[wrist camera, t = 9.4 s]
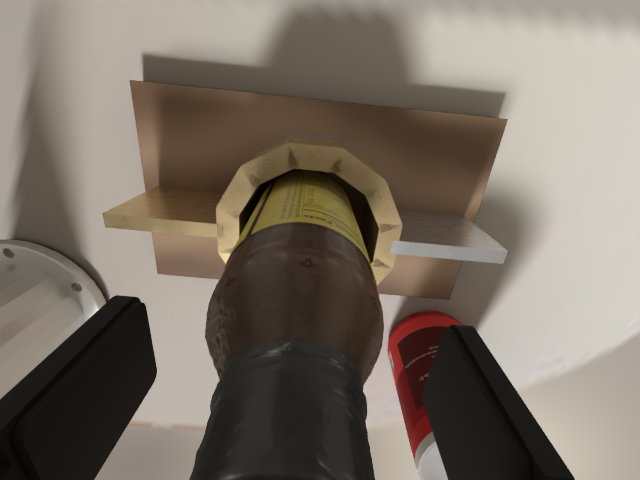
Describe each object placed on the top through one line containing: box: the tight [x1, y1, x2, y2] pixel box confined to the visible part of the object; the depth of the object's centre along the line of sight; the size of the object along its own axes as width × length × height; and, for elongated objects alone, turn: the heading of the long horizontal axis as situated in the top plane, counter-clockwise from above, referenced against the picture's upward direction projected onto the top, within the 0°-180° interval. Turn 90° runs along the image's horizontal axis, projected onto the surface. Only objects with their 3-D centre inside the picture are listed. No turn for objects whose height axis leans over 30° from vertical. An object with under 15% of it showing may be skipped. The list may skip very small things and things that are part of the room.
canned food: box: [388, 312, 462, 480], centre depth 24 cm, size 8×8×11 cm
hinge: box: [102, 132, 508, 285], centre depth 19 cm, size 10×22×6 cm, turn 85°
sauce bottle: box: [190, 169, 384, 480], centre depth 13 cm, size 6×6×20 cm
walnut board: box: [130, 80, 508, 300], centre depth 23 cm, size 14×24×2 cm, turn 85°
